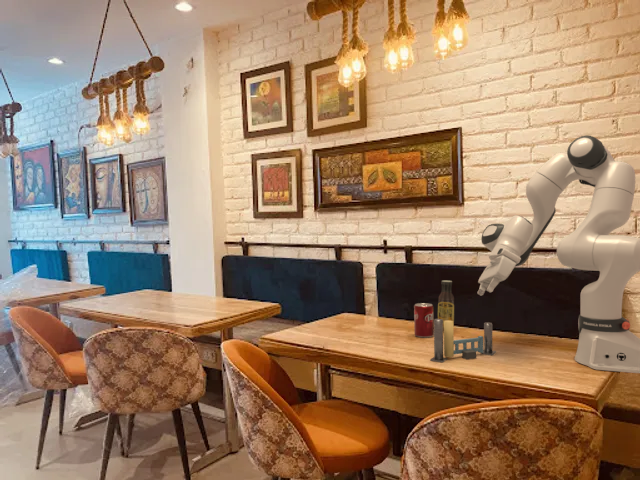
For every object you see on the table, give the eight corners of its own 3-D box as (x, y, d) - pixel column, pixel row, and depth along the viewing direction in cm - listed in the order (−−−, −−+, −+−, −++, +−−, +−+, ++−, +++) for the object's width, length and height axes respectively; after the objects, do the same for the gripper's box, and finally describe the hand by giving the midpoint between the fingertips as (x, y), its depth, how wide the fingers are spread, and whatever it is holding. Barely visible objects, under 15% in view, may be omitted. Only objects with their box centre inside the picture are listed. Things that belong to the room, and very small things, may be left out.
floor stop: (471, 356, 167) (471, 349, 167) (476, 358, 165) (476, 351, 165) (462, 357, 166) (462, 350, 166) (466, 359, 164) (466, 352, 164)
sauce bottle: (436, 332, 202) (435, 281, 201) (438, 328, 208) (438, 279, 207) (453, 332, 200) (453, 282, 199) (455, 329, 206) (454, 279, 204)
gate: (479, 350, 171) (479, 317, 170) (485, 353, 168) (484, 318, 168) (442, 355, 167) (441, 320, 166) (447, 357, 164) (447, 322, 163)
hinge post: (496, 352, 171) (496, 322, 170) (492, 355, 168) (492, 325, 167) (484, 351, 173) (483, 321, 173) (480, 353, 170) (480, 323, 169)
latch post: (447, 359, 164) (446, 319, 164) (442, 362, 161) (441, 321, 160) (435, 357, 167) (434, 317, 166) (430, 360, 163) (429, 320, 163)
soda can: (412, 337, 195) (411, 305, 194) (417, 333, 201) (417, 302, 200) (430, 338, 191) (430, 306, 191) (436, 334, 198) (435, 303, 197)
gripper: (485, 259, 185) (466, 291, 182) (505, 247, 165) (485, 284, 162) (500, 268, 184) (482, 301, 181) (523, 258, 164) (503, 294, 162)
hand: (484, 293), depth 172 cm, fingers open, 8 cm apart
